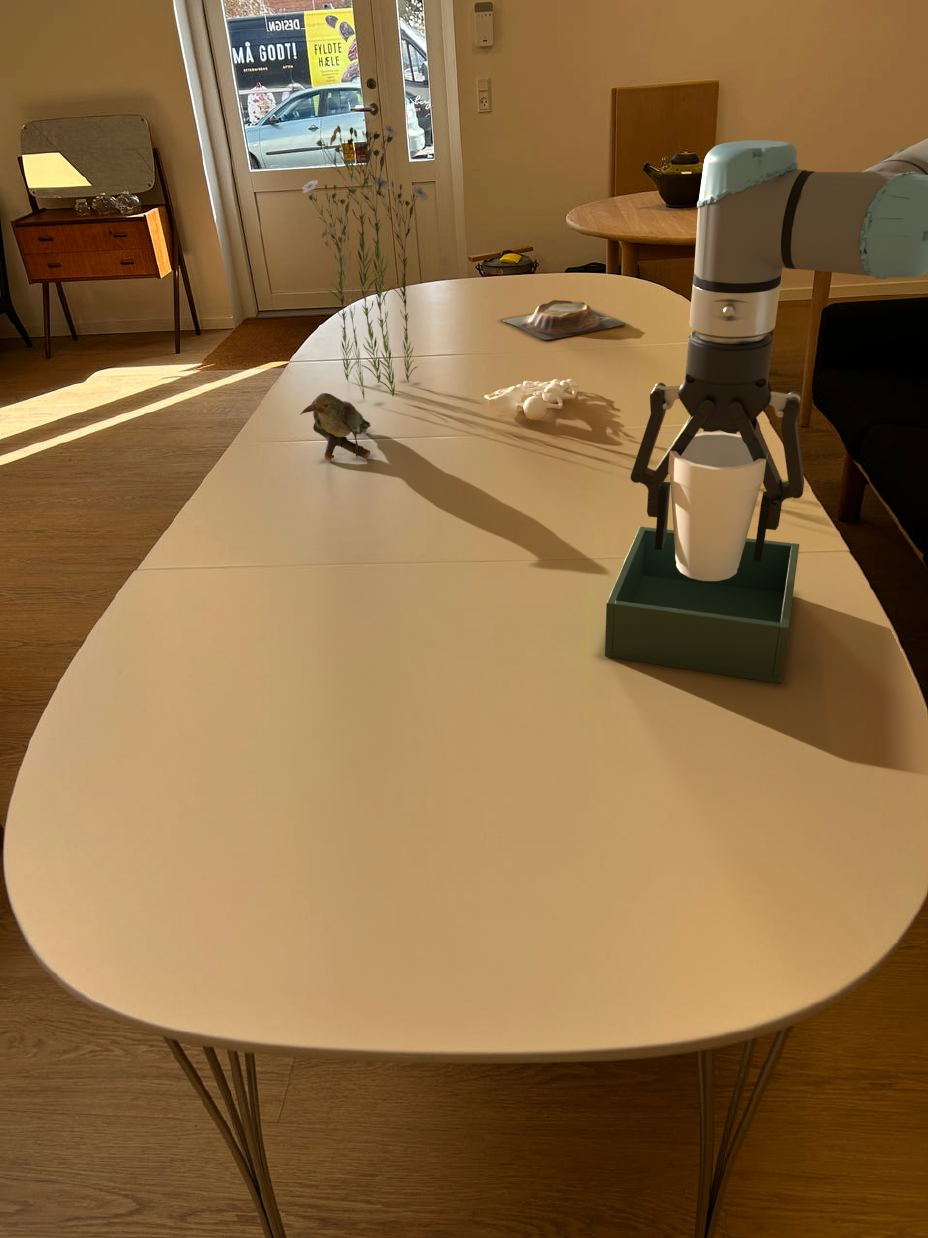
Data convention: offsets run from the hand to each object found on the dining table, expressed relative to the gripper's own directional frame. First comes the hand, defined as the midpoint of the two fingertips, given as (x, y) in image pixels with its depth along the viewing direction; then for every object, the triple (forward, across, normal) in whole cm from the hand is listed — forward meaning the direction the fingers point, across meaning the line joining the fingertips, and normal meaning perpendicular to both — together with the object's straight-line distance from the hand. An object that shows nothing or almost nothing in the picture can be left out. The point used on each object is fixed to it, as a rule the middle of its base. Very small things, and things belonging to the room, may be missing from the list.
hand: (708, 549), depth 97 cm
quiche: (+10, -46, +115) cm, 124 cm away
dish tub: (+9, 0, 0) cm, 9 cm away
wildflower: (+10, -68, +65) cm, 94 cm away
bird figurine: (+10, -61, +35) cm, 71 cm away
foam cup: (+2, 0, 0) cm, 2 cm away
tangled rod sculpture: (+10, -38, +63) cm, 74 cm away
